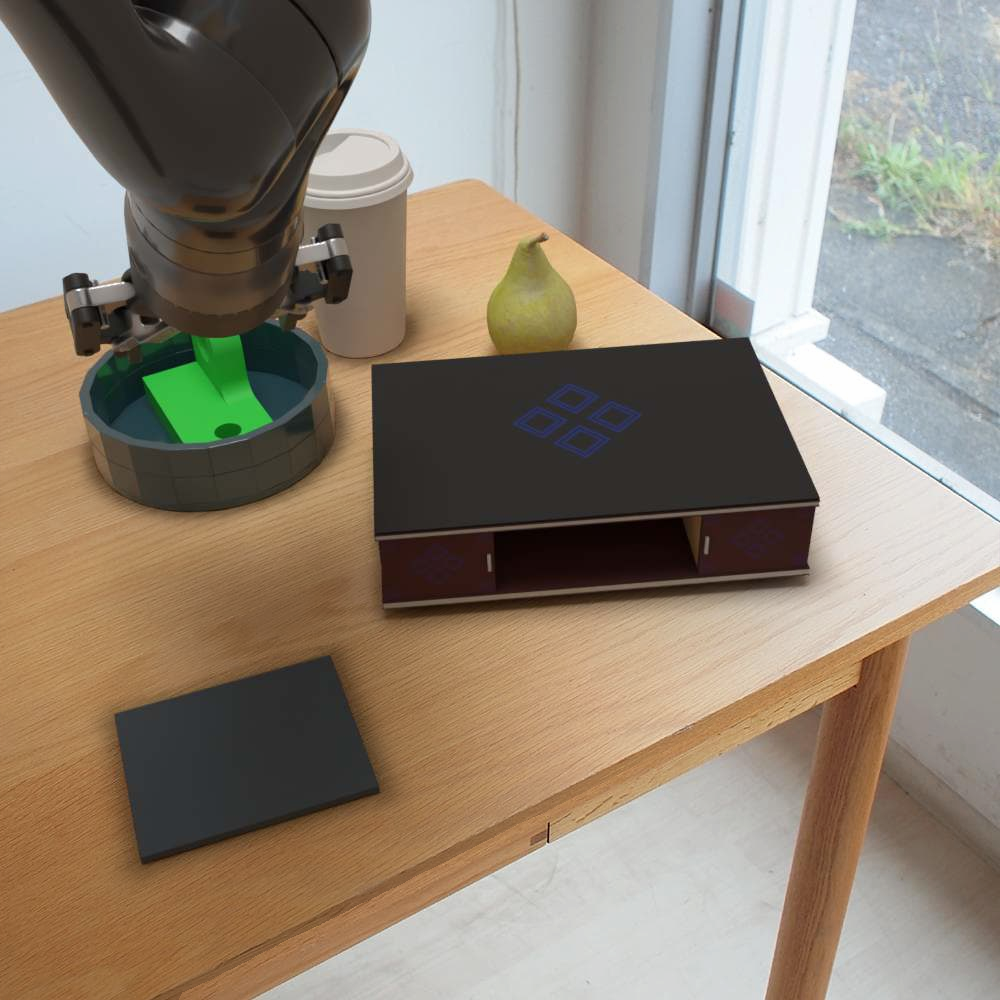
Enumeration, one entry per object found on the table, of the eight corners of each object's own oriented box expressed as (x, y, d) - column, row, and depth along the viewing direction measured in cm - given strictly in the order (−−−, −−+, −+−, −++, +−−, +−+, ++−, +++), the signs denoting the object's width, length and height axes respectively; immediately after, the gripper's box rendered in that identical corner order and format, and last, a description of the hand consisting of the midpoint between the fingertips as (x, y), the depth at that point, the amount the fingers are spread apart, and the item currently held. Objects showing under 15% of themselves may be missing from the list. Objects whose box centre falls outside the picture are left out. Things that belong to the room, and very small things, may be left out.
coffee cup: (368, 291, 107) (350, 112, 98) (450, 332, 102) (439, 147, 92) (275, 338, 102) (246, 154, 92) (357, 384, 96) (335, 194, 87)
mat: (142, 864, 64) (140, 858, 64) (115, 719, 71) (113, 713, 71) (380, 792, 67) (379, 785, 67) (331, 660, 74) (330, 654, 74)
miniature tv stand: (807, 586, 78) (821, 498, 74) (384, 621, 77) (374, 533, 73) (740, 418, 92) (748, 336, 87) (379, 445, 90) (370, 363, 86)
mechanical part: (147, 400, 94) (124, 303, 89) (227, 376, 97) (208, 279, 92) (202, 489, 86) (180, 387, 81) (288, 461, 88) (272, 359, 83)
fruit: (561, 325, 102) (561, 180, 94) (593, 376, 96) (595, 226, 89) (477, 339, 101) (470, 194, 93) (504, 392, 95) (499, 241, 87)
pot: (112, 536, 84) (95, 474, 80) (84, 401, 96) (67, 342, 93) (362, 476, 88) (355, 414, 85) (304, 353, 100) (296, 295, 97)
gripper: (348, 123, 60) (314, 242, 76) (27, 179, 57) (61, 292, 72) (391, 279, 60) (348, 366, 75) (70, 345, 56) (95, 422, 72)
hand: (208, 329), depth 74 cm, fingers open, 8 cm apart
